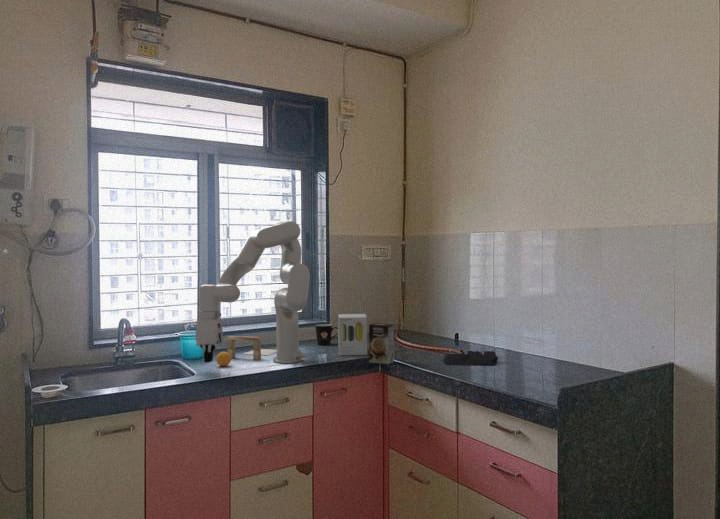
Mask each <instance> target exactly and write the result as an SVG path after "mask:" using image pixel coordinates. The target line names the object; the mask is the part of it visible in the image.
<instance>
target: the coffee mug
mask: <svg viewBox="0 0 720 519" xmlns="http://www.w3.org/2000/svg"><path fill="white" fill-rule="evenodd" d="M314 326H315V333H316V335H315V336H316V341H317V346H319V347H320V346H321V347H323V346H324V347H325V346H326V347H327V345H328V346H330V345H331V341H332V340H333V338H335V337H338V332H337V333H336V334H335V335H333V336H332V332H333V330H334V329H337V330H338V326H333V324H330V323H320V324H315V325H314Z"/></svg>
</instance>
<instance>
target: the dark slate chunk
mask: <svg viewBox="0 0 720 519" xmlns="http://www.w3.org/2000/svg"><path fill="white" fill-rule="evenodd" d="M498 360H499V357H498V355H496V352H495V351H494V350H492V351H490V350H489V351H488V350H485V351H483V352H480V351H479V350H475V351H473V350H468V351H467V353H464V354H463V353H446V354H444V356H443V362H444V364H445V365H447V366H469V367H471V366H472V367H475V366H476V367H479V366H480V367H481V366H482V367H496V366H498V365H497V364H498Z"/></svg>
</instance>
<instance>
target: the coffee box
mask: <svg viewBox="0 0 720 519" xmlns="http://www.w3.org/2000/svg"><path fill="white" fill-rule="evenodd" d="M394 332H395V324H393V323H392V324H391V323H378V322H375V323H370V324H368V341H369V342H368V343H369V344H368V348H369V349H368V351H369V352H368V354H369V356H368V357H369V358H368V360H369V361H368V362H369V363H370V364H371V363H373V364H382V365H390V364H391V363H395V352H394V351H395V350H394V349H395V337H394V336H395V333H394Z"/></svg>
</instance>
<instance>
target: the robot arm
mask: <svg viewBox="0 0 720 519" xmlns="http://www.w3.org/2000/svg"><path fill="white" fill-rule="evenodd" d="M300 235H301V227H300V225H299V224H298V223H297V222H295V221H293V220H287V221H280V222H277V223H275V224H273V225H271V226H267V227H262V228H255V229H252V231H251V232H250V233H249V234H248V236H247V238H246V239H245V241H244V243H243V245H242V246H241V248H240V249H239V251H238V253H237V255H236V257H235V258H234V259H233V261H231V263H230V264H229V265H228V266H227V267H226V269H225V270H224V272H223V273H222V274H221V275H220V278H219V279H218V281H217V283H216V284H211V283H209V284H206V283H205V284H201V285H199V290H198V291H199V295H198V296H199V297H198V300H199V301H198V309H199V312H198V318H197V322H196V326H195V327H196V328H195V342H196V346H197V347H200V349H202V351H203V352H202V353H203V356H204V357H203V359H204V360H203V362H204V363H211V362H213V359H214V351H215V350H216V349H218V348H221V347H222V343H223V341H224V340H223V339H224V336H223V335H224V334H223V333H224V332H223V324H222V319H221V318H220V317H221V316H222V314H221V312H220V310H219V308H220V303H234V302H236V301H237V300H238V299H239V298H240V296H241V290H240V288H239V287H238V286H237V285H238V282H239V281H240V280H241V279H242V278H243V277H244V276H245V275H246V274H248V273H250V272H251V271H252V270H253V269H254V268H255V267H256V266H257V264H258V262H259V261H260V258H261V256H262V255H263V253H264V251H265V249H272V248H275V247H278V246H280V248H281V259H280V260H281V261H280V269H279V279H280V281H281V282H282V283H283V284H285V285H287V287H282V288H280V289H278V291H276V293H275V295H274V298H273V300H274V301H273V302H274V310H275V318H276V319H275V322H276V323H275V324H276V325H275V326H276V327H275V328H276V331H275V332H276V333H275V334H276V336H275V337H276V338H275V339H276V350H277V352H276V356H274V357H273V358H272V360H273V363H277V364H293V363H294V364H295V363H300V362H301V361H303V359H307V357H308V353H307V352H302V349H300V347H299V346H300V342H299V341H300V339H299V336H300V335H299V333H300V332H299V314H298V312H300V311H302V310H304V308H305V307H306V305H307V302H308V299H309V289H310V279H311V275H310V271H309V268H308V267H307V266H306V265H305V264H304V263H302V247H301V243H300V240H299V239H298V238H299V237H300Z"/></svg>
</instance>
